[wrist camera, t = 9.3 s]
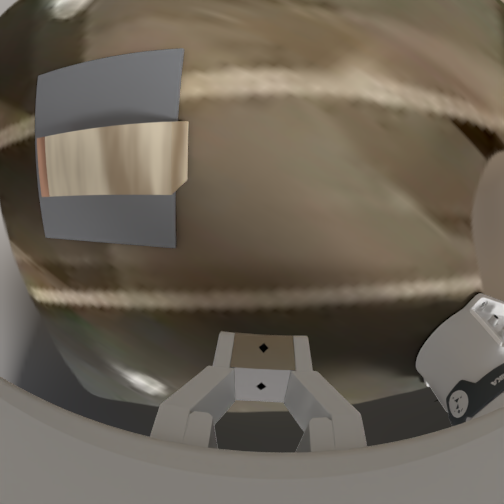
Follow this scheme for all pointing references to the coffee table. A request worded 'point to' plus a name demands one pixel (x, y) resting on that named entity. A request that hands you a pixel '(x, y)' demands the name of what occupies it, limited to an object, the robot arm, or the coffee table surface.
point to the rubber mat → (102, 115)
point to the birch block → (115, 160)
